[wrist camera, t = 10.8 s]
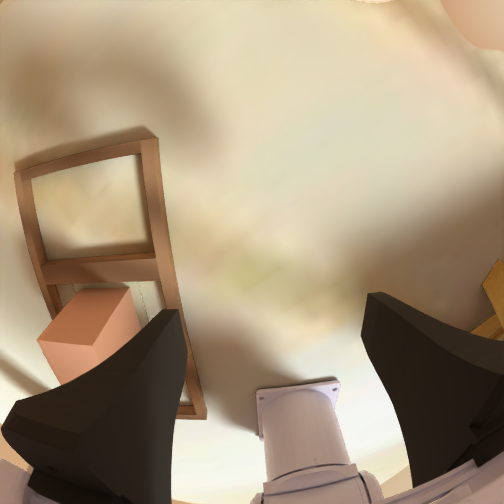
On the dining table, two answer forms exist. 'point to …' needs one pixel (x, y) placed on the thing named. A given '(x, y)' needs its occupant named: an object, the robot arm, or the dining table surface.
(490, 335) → the picture frame
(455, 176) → the dining table surface
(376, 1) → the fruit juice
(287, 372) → the dining table surface
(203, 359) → the dining table surface
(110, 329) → the terracotta block
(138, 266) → the wooden divided frame
